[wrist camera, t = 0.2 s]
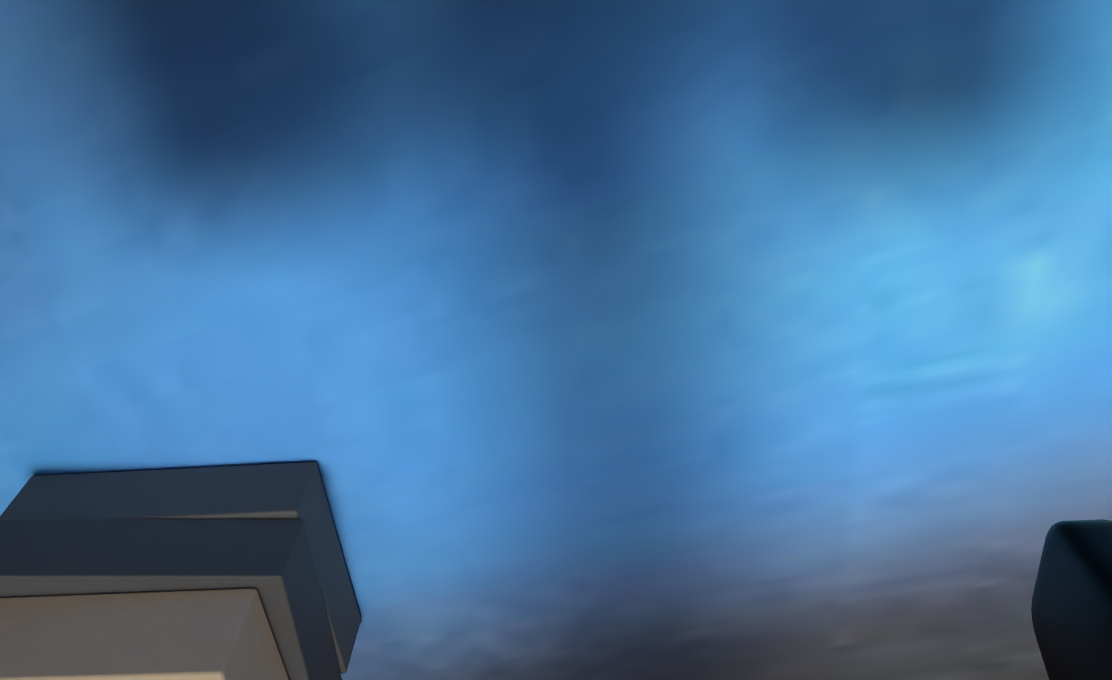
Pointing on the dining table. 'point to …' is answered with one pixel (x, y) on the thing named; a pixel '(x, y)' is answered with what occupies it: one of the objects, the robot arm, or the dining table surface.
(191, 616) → the taupe flat block
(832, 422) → the dining table surface
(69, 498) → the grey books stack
